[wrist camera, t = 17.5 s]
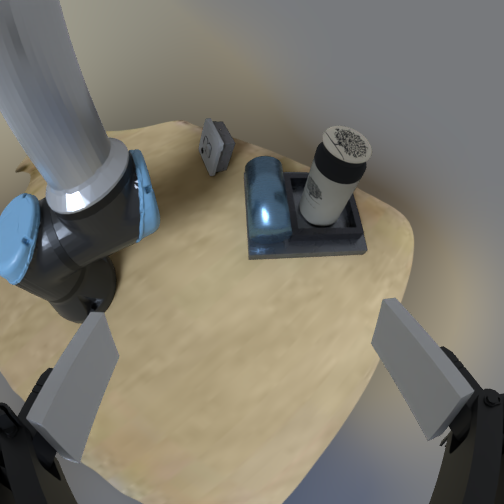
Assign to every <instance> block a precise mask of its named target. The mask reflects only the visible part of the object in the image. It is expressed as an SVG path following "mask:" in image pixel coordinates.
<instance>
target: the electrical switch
mask: <svg viewBox="0 0 504 504" xmlns="http://www.w3.org/2000/svg"><path fill="white" fill-rule="evenodd" d="M220 129H221V130H220ZM234 146H235V142H234V140H233V138H232V137H231V135H230V133H229V131H228V130H227V128H226V126H225V124H224V123H223V122H216V121H212V120H211V118H207V119H205V123H204V127H203V131H202V135H201V140H200V144H199V152H200V154H201V157H202V159H203V161H204V163H205V166H206V168H207V170H208V173H209V175H210V176H214V175H215V173H216V172H219V171H224V170H226V169H227V166H228V163H229V160H230V158H231V155H232V152H233V149H234Z"/></svg>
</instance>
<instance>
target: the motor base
mask: <svg viewBox="0 0 504 504" xmlns="http://www.w3.org/2000/svg"><path fill="white" fill-rule="evenodd" d="M308 175H309V173H307V172H283V169H282V164H281V162H280V161H279V160H278V159H276V158H274V157H270V156H260V157H256V158H254V159H252V160H250V161H249V162H248V163H247V164H246V166H245V173H244V187H245V205H246V221H247V238H248V255H249V260H256V259H279V258H301V257H322V256H343V255H363V254H364V253H365V252H366V251H367V246H366V242H365V238H364V232H363V228H362V224H361V220H360V216H359V213H358V209H357V205H356V202H355V198H354V195H353V193H352V195H351V197H350V199H349V200H348V202H347V204H346V206H345V207H344V209H343V211H342V213H341V214H340V216H339V218H338V219H337V221H336V222H335V223H333V224H332V225H329V226H317V225H314V224H312V223H310V222H308V221H307V220H306V219H305V218H304V217H303V215H302V214H301V211H300V207H299V204H300V200H301V197H302V194H303V191H304V188H305V185H306V182H307V178H308Z"/></svg>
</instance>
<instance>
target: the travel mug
mask: <svg viewBox="0 0 504 504" xmlns="http://www.w3.org/2000/svg"><path fill="white" fill-rule="evenodd" d="M322 139H323V142H322V143H320V144H319V145H318V147H317V150H316V153H315V156H314V159H313V163H312V166H311V169H310V172H309V175H308V178H307V182H306V185H305V188H304V191H303V194H302V197H301V200H300V204H299V207H300V211H301V214H302V215H303V217H304V218H305V219H306V220H307V221H308V222H310V223H312V224H314V225H317V226H329V225H332V224H333V223H335V222H336V221H337V219H338V218H339V216H340V214H341V213H342V211H343V209H344V207H345V206H346V204H347V202H348V200H349V199H350V197H351V195H352V193H353V192H354V190H355V188H356V186H357V184H358V183H359V181H360V179H361V177H362V176H363V174H364V172H365V170H366V161H367V160H369V159H370V157H371V155H372V148H371V145H370V143H369V142H368V140H367V139H366V138H365V137H364V136H363V135H362V134H361V133H359V132H358V131H356V130H354V129H351V128H349V127H344V126H333V127H330V128H328V129H326V130H325V131H324V133H323V137H322Z"/></svg>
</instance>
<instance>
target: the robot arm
mask: <svg viewBox="0 0 504 504" xmlns="http://www.w3.org/2000/svg"><path fill="white" fill-rule="evenodd" d="M0 111H1V113H2V115H3V117H4V118H5V120H6V121H7V123H8V125H9V127H10V128H11V130H12V132H13V133H14V135H15V136H16V138H17V140H18V141H19V143H20V144H21V146H22V147H23V149H24V150H25V152H26V153H27V155H28V156H29V158H30V159H31V161H32V162H33V164H34V165H35V166H36V168H37V169H38V171H39V172H40V173H41V175H42V176H43V178H44V179H45V180H46V182H47V183H48V184H47V188H46V197H45V198H43V199H42V200H40V201H38V199H37V197H36V196H34V195H31V194H27V193H24V194H21V195H19V196H17V197H16V198H14V199H13V200H12V201H11V202H10V203H9V204H8V205H7V207H6V208H5V209H4V211H3V212H2V214H1V216H0V275H1V276H2V277H4V278H5V279H6V280H8V281H9V283H10V284H12V285H16V286H18V287H20V288H22V289H24V290H26V291H28V292H30V293H32V294H34V295H36V296H38V297H41V298H43V299H45V300H47V301H49V303H50V304H51V305H52V306H53V308H54V309H55V310H56V311H57V312H58V313H59V314H60V315H61V316H62V317H63V318H65V319H67V320H69V321H72V322H75V323H83V324H82V325H81V326H80V328H79V329H78V331H77V332H76V334H75V335H74V337H73V338H72V340H71V341H70V343H69V344H68V346H67V348H66V349H65V351H64V352H63V354H62V355H61V357H60V359H59V360H58V362H57V363H56V365H55V367H54V368H48V369H47V370H46V371H45V372H44V373H43V374H42V375H41V376H40V378H39V379H38V381H37V383H36V385H35V386H34V388H33V390H32V392H31V393H30V395H29V397H28V398H27V400H26V402H25V404H24V406H23V407H22V409H21V411H20V413H19V415H18V416H16V415H15V413H14V412H13V411H12V410H11V408H10V407H9V406H8V405H7V404H5V403H0V504H77V502H76V500H75V498H74V496H73V494H72V492H71V490H70V488H69V486H68V483H67V481H66V479H65V476H64V474H63V472H62V469H61V467H60V464H59V462H58V460H57V458H56V457H55V455H56V452H58V453H59V454H60V455H61V456H62V457H63V458H64V459H67V460H70V461H73V462H76V463H80V460H81V457H82V454H83V451H84V448H85V445H86V442H87V439H88V436H89V433H90V430H91V427H92V424H93V422H94V419H95V416H96V413H97V411H98V408H99V405H100V403H101V400H102V397H103V395H104V392H105V390H106V387H107V385H108V382H109V380H110V377H111V375H112V373H113V370H114V368H115V365H116V363H117V361H118V359H119V354H118V351H117V349H116V346H115V343H114V341H113V338H112V335H111V332H110V329H109V326H108V323H107V320H106V317H105V314H104V312H105V311H106V310H107V308H108V307H109V305H110V303H111V301H112V299H113V296H114V293H115V289H116V273H115V268H114V266H113V263H112V261H111V260H110V258H109V257H108V256H109V255H111V254H113V253H115V252H117V251H119V250H121V249H123V248H125V247H128V246H130V245H132V244H134V243H138V242H140V241H141V239H142V238H144V237H146V236H148V235H150V234H152V233H154V232H155V231H156V230H157V229H158V227H159V225H160V214H159V209H158V205H157V201H156V198H155V194H154V191H153V189H152V184H151V180H150V176H149V173H148V170H147V166H146V163H145V160H144V157H143V155H142V153H141V151H140V150H129V151H128V149H127V147H126V146H125V144H124V143H123V142H122V141H120V140H118V139H115V138H108V136H107V134H106V132H105V130H104V127H103V125H102V123H101V120H100V118H99V116H98V113H97V111H96V108H95V106H94V104H93V101H92V98H91V96H90V93H89V91H88V88H87V86H86V83H85V80H84V78H83V75H82V72H81V69H80V67H79V64H78V61H77V58H76V55H75V52H74V49H73V46H72V43H71V40H70V37H69V33H68V30H67V27H66V23H65V20H64V17H63V13H62V9H61V5H60V1H59V0H0ZM371 344H372V346H373V347H374V349H375V351H376V352H377V354H378V355H379V357H380V359H381V360H382V362H383V363H384V365H385V367H386V369H387V370H388V372H389V373H390V375H391V377H392V378H393V380H394V382H395V383H396V385H397V386H398V389H399V390H400V392H401V394H402V395H403V397H404V399H405V401H406V402H407V404H408V406H409V408H410V410H411V411H412V413H413V415H414V417H415V418H416V420H417V422H418V424H419V426H420V427H421V429H422V431H423V433H424V435H425V437H426V438H427V440H428V441H429V440H431V439H433V438H435V437H437V436H440V435H441V434H442V433H443V432H444V431H445V430H446V429H447V427H448V426H449V427H450V429H451V431H450V433H449V434H448V435H447V436H446V437H445V438H444V439H443V440H442V442H441V444H440V446H442V445H443V444H444V443H445V442H446V441H447V443H446V445H445V447H446V448H445V453H444V457H443V461H442V465H441V468H440V472H439V475H438V479H437V482H436V485H435V488H434V491H433V494H432V497H431V500H430V503H429V504H504V394H499V393H497V392H496V391H495V390H492V389H484V390H483V389H482V388H481V387H480V385H479V384H478V383H477V382H476V380H475V379H474V378H473V377H472V375H471V374H470V373H469V372H468V370H467V369H466V368H465V367H464V366H463V364H462V363H461V362H460V361H459V360H458V358H457V357H456V356H455V355H454V354H453V352H451V351H450V350H448V349H447V348H445V347H444V346H443V347H439V346H438V345H437V344H436V342H435V341H434V340H433V339H432V338H431V337H430V336H429V334H428V333H427V332H426V331H425V330H424V329H423V327H422V326H421V325H420V324H419V323H418V322H417V321H416V320H415V319H414V318H413V316H412V315H411V314H410V313H409V312H408V311H407V310H406V309H405V308H404V307H403V305H402V304H401V303H400V302H399V301H398V300H397V299H396V298H390V299H383V300H382V304H381V309H380V313H379V317H378V320H377V324H376V328H375V331H374V335H373V338H372V342H371Z"/></svg>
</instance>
